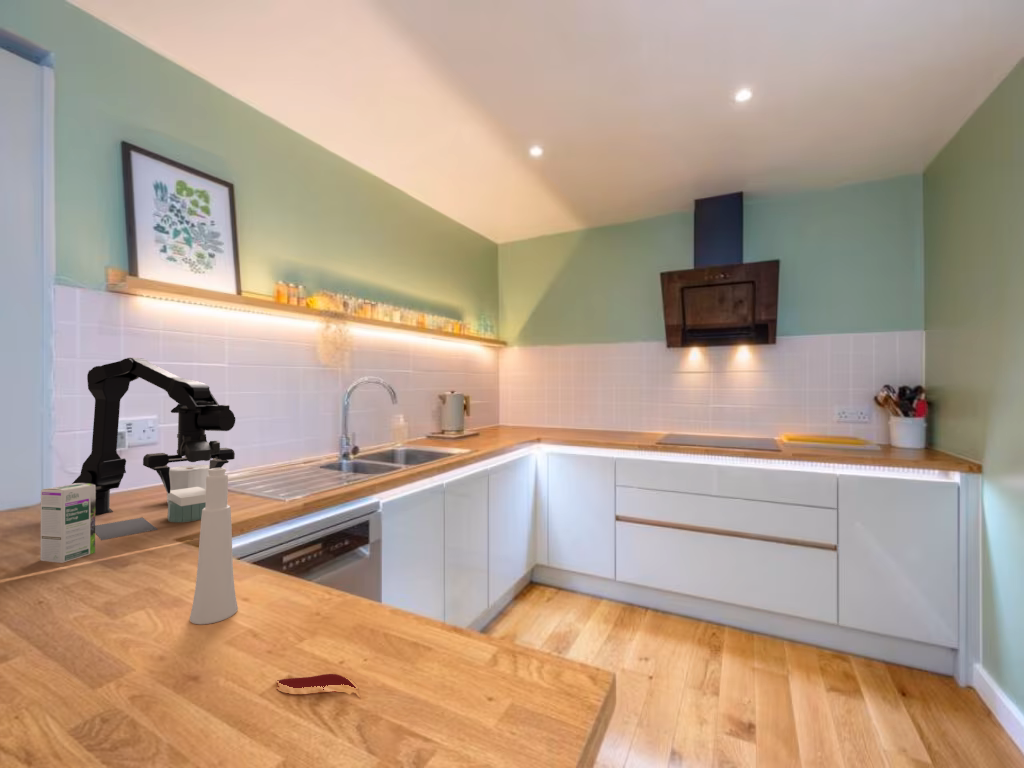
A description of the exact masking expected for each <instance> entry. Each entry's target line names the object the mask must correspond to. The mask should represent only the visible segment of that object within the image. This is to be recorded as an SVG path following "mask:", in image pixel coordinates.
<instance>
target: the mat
mask: <svg viewBox="0 0 1024 768" xmlns="http://www.w3.org/2000/svg"><path fill="white" fill-rule="evenodd" d="M158 530H159V529H158V527H156V526H154V525H153V524H152V523H151V522H149V521H148V520H147V519H146V518H144V517H139V518H138V517H137V518H132V519H125V520H121V521H113V522H109V523H102V524H95V536H97V537H98V539H100V540H101V541H106V540H110V539H115V538H121V537H125V536H132V535H136V534H141V533H147V532H154V531H158Z"/></svg>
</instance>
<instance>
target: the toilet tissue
mask: <svg viewBox="0 0 1024 768" xmlns="http://www.w3.org/2000/svg"><path fill="white" fill-rule="evenodd" d="M209 468H210V464H209V465H208V464H191V465H180V466H173V467H170V471H169V476H170V487H171V489H170V490H178V489H185V488H192V487H200V488H203V489H205V490H206V477H207V476H208V475H209V473H208V470H209ZM169 501H170V500H169V499H167V498H166V503H167V504H168V502H169Z"/></svg>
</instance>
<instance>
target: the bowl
mask: <svg viewBox="0 0 1024 768" xmlns="http://www.w3.org/2000/svg"><path fill="white" fill-rule="evenodd" d="M205 507H206V502H205V503H199V504H192V505H186V506H179V505H178V504H176V503H174V502H172V501H169V502H168V503H167V521H168V522H170V523H188V522H189V523H190V522H194V521H201V517H202V509H204V508H205Z"/></svg>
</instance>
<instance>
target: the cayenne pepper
mask: <svg viewBox="0 0 1024 768" xmlns="http://www.w3.org/2000/svg"><path fill="white" fill-rule="evenodd" d="M346 678H347V677H346ZM346 678H345V676H342V675H340V674H337V673H326V674H319V675H312V676H305V677H304V676H303V677H291V678H290V677H288V678H282V679H278V680H277V679H276V680H277V681H279V683H281V684H283V685H287V686H289V687H293V688H302V687H303V688H304V687H311V686H312V687H314V686H316V687H317V686H320V687H321V686H322V687H323V686H324V687H325V686H326V685H327V686H328V685H341V684H342V685H343V684H344V685H349V686H351V687H354V688H356V687H355V686H354V685H353V684H352V683H351V682H350V681H349V680H348V679H346ZM324 687H323V688H324ZM323 690H324V689H323Z"/></svg>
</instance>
